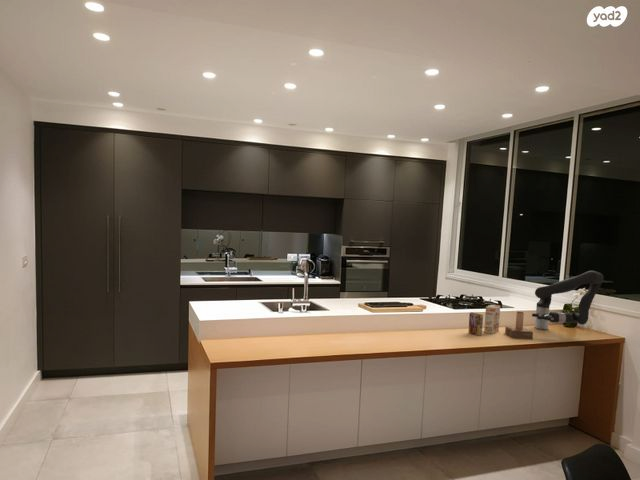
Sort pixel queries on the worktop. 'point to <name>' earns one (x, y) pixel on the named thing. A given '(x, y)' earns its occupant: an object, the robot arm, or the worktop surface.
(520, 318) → the terracotta canister
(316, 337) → the worktop surface
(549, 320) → the robot arm
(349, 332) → the worktop surface
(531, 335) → the walnut base
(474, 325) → the candy box
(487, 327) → the coffeecake box
